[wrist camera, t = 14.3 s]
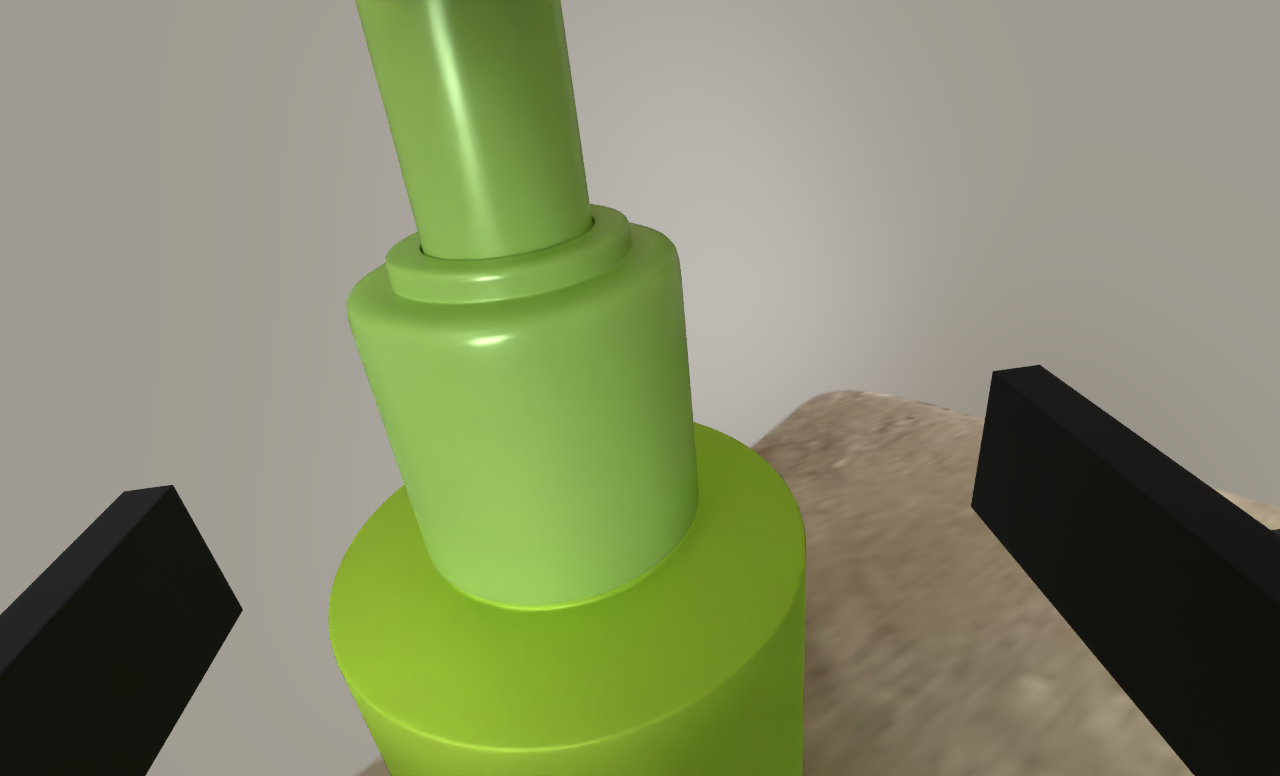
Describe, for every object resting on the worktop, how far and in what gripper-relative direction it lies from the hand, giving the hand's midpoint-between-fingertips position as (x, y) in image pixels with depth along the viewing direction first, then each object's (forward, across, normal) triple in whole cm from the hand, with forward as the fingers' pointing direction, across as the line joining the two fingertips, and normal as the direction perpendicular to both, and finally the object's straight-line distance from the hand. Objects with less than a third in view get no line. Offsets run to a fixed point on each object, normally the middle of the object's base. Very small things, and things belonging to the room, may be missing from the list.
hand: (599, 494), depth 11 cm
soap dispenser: (-3, 0, -12) cm, 12 cm away
